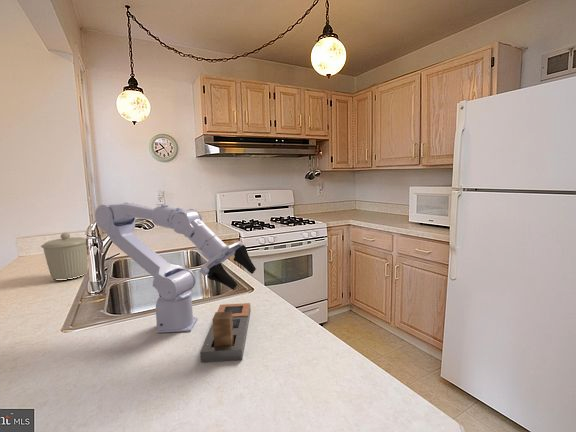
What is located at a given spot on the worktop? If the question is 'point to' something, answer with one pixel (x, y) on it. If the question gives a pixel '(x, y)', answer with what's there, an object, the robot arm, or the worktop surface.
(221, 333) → the peg
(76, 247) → the canister
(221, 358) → the rail
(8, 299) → the worktop surface
